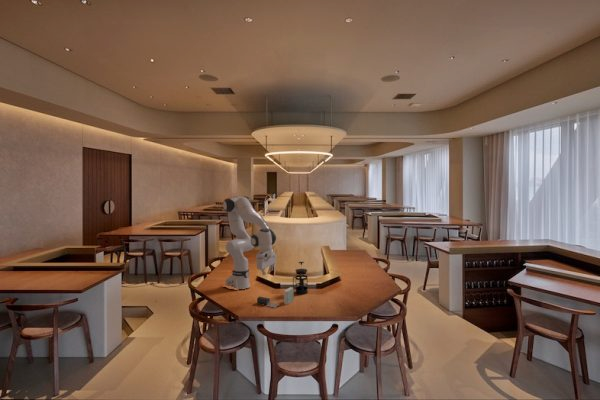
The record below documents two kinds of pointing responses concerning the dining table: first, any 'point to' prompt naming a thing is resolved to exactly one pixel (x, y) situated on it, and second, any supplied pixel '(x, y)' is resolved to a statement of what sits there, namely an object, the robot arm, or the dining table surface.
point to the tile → (288, 295)
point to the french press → (301, 281)
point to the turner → (266, 302)
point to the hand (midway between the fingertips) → (267, 272)
